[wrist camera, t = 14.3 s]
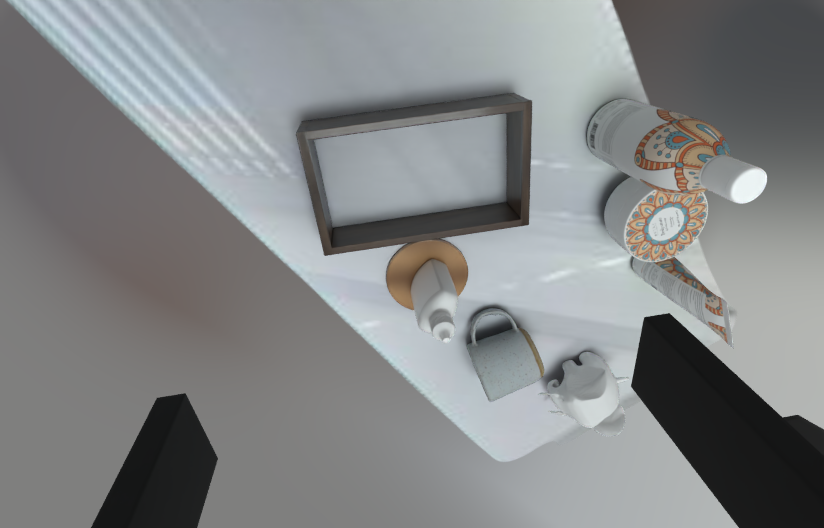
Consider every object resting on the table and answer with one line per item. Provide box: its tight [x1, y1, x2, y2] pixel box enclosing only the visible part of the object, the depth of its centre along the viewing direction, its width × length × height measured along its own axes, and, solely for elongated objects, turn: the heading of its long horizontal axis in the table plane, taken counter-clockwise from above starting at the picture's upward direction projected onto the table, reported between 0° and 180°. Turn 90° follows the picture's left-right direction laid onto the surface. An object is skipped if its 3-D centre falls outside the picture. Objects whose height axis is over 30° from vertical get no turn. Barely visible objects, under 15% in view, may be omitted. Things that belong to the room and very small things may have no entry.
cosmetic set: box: [587, 99, 767, 348], centre depth 44 cm, size 25×9×19 cm, turn 27°
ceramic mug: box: [467, 308, 544, 402], centre depth 57 cm, size 11×8×8 cm
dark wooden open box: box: [296, 93, 532, 256], centre depth 45 cm, size 13×22×5 cm, turn 96°
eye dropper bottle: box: [411, 259, 458, 343], centre depth 48 cm, size 4×6×12 cm
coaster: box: [386, 239, 468, 310], centre depth 54 cm, size 10×10×1 cm
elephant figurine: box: [538, 352, 629, 436], centre depth 61 cm, size 10×12×9 cm
